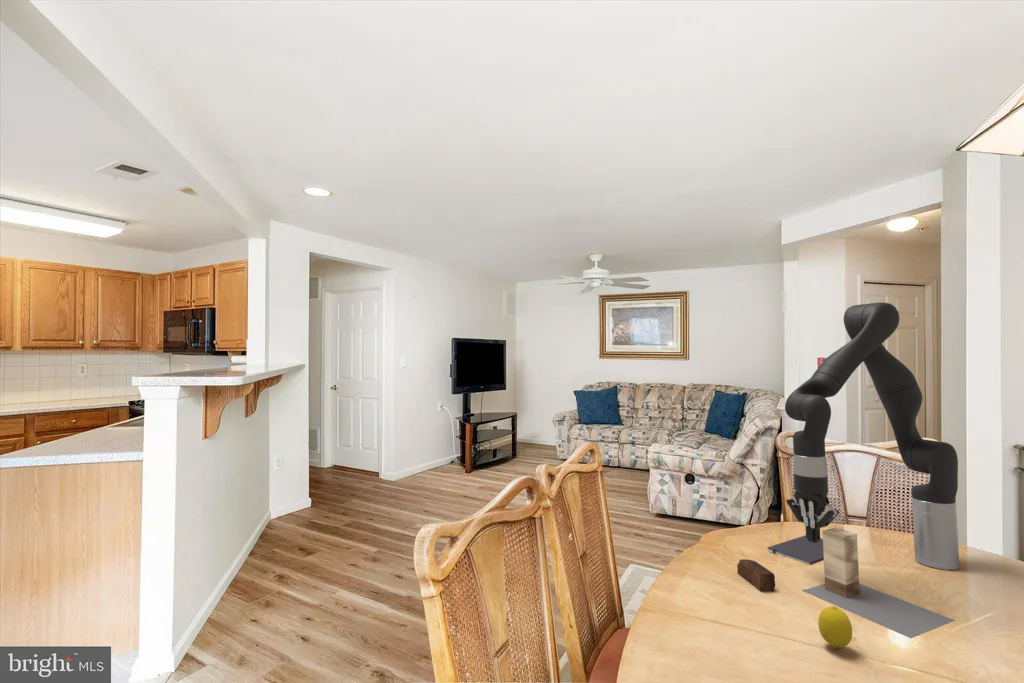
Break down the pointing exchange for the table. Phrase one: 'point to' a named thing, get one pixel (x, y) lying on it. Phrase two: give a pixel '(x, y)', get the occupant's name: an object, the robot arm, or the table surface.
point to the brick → (756, 575)
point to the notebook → (800, 550)
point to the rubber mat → (885, 610)
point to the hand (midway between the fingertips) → (813, 541)
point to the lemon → (835, 627)
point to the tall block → (841, 562)
